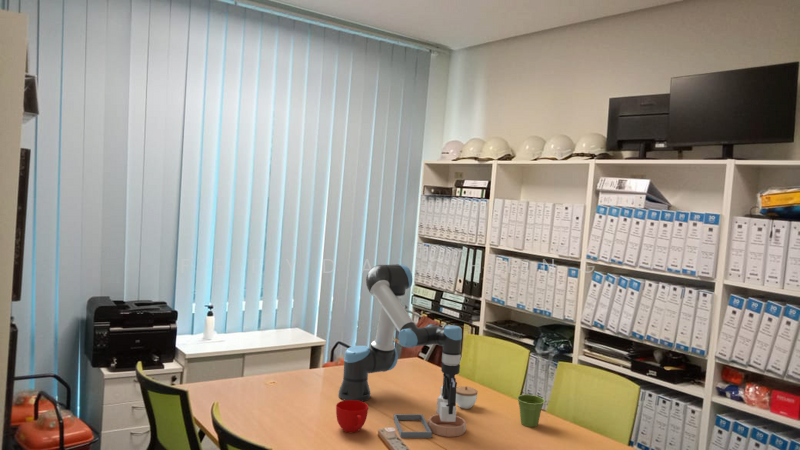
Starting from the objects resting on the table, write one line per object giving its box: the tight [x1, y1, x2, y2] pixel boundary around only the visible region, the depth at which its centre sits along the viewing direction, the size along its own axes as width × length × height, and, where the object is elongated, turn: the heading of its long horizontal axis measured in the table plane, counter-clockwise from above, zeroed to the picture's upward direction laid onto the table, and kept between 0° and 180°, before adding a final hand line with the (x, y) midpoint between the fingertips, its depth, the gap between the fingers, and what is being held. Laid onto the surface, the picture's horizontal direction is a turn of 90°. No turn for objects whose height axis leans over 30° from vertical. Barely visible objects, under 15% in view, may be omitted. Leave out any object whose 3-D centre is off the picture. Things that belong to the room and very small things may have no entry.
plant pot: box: [516, 394, 546, 428], centre depth 255 cm, size 12×12×11 cm
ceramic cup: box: [335, 400, 369, 433], centre depth 235 cm, size 13×17×10 cm
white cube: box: [439, 402, 457, 422], centre depth 243 cm, size 6×6×6 cm
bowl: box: [427, 413, 467, 438], centre depth 243 cm, size 15×15×4 cm
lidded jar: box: [456, 386, 478, 410], centre depth 273 cm, size 11×11×9 cm
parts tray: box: [393, 413, 433, 439], centre depth 243 cm, size 13×20×2 cm, turn 9°
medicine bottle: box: [436, 385, 443, 414], centre depth 264 cm, size 7×7×12 cm
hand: (447, 417), depth 243 cm, fingers closed on white cube, 6 cm apart
